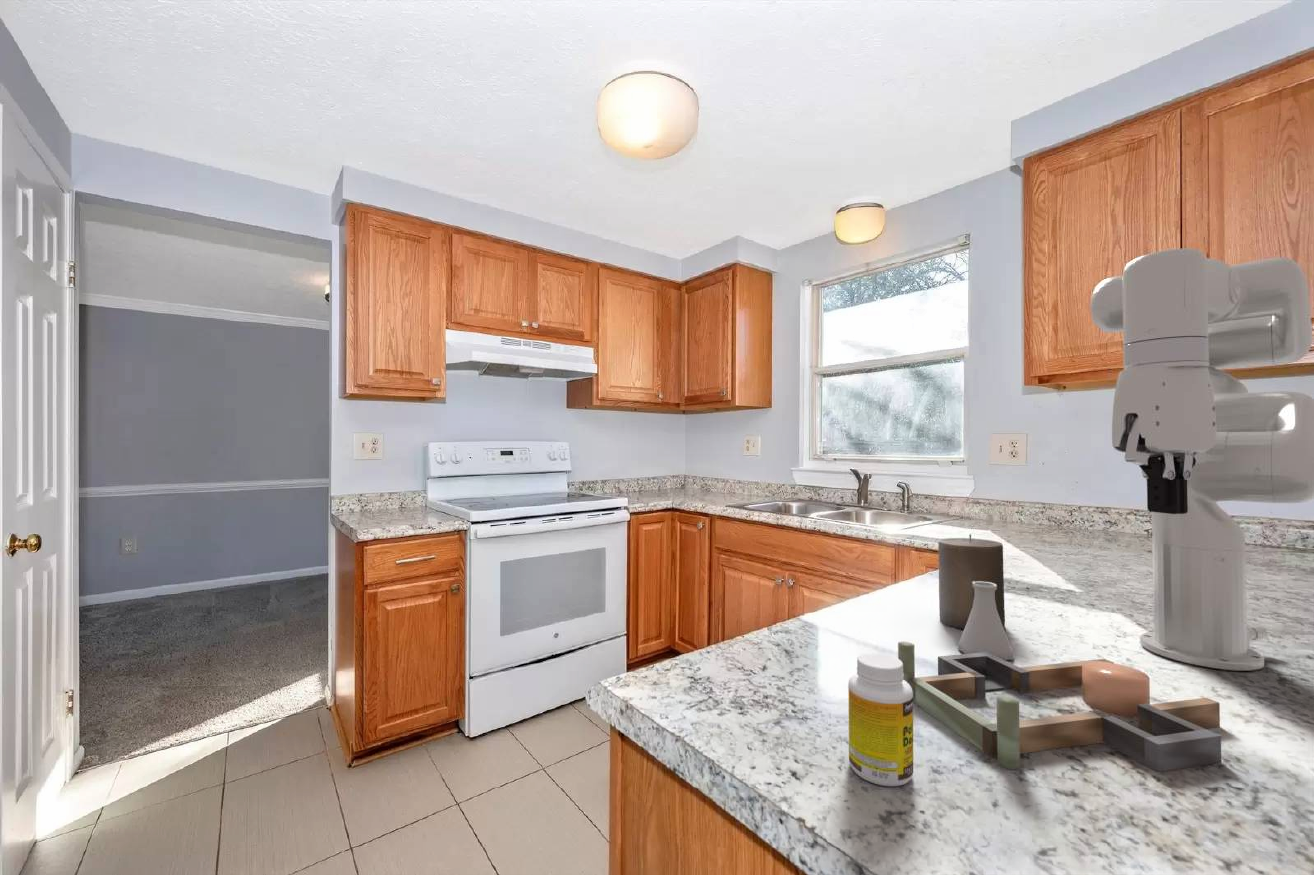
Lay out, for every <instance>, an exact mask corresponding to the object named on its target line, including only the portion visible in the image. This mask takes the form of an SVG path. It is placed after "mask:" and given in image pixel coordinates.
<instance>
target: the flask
mask: <svg viewBox="0 0 1314 875" xmlns="http://www.w3.org/2000/svg"><path fill="white" fill-rule="evenodd" d="M972 586H973V587H974V589H975V597H974V602H973V608H972V610H971V613H970V616H969V619H968V621H967V624H966V626H965V629H963V631H962V633H961V637H960V639H959V641H958V645H957V646H958V647H957V650H958V651H960V652H962V653H963V654H970V653H981V652H988V653H990V654H992V655H994V656H996V657H999V658H1001V659H1003V660H1005V661H1013V660H1014V661H1015V657H1014V652H1013V649H1012V647H1011V644H1010V641H1009V638H1008V637H1007V634H1006V631H1005V629H1004V628H1005V627H1004V628H1003V626H1002V623H1001V620H1000V617H999V615H998V612H997V607H996V603H995V590H997V584H994V583H991V582H983V581H975V582H972Z"/></svg>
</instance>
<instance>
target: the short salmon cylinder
mask: <svg viewBox="0 0 1314 875" xmlns="http://www.w3.org/2000/svg"><path fill="white" fill-rule="evenodd" d="M1150 683H1151V682H1150V677H1149V675H1148V674H1147V673H1145V672H1143V671H1140V670H1139V669H1137V668H1134V667H1131V666H1127V665H1123V664H1119V663H1115V662H1114V663H1109V662H1100V661H1089V662H1085V663H1083V664H1082V686H1081V688H1082V689H1081V690H1082V696H1081V697H1082V701H1083V703H1084V704H1085V705H1087V706H1089V707H1090V708H1093V710H1100V711H1102V712H1105V713H1107V714H1109V715H1111V716H1114V717H1119V718H1126V719H1127V718H1128V719H1138V705H1141V704H1148V705H1151V696H1150V695H1151V693H1150V692H1151V691H1150V690H1151V688H1150Z"/></svg>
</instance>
